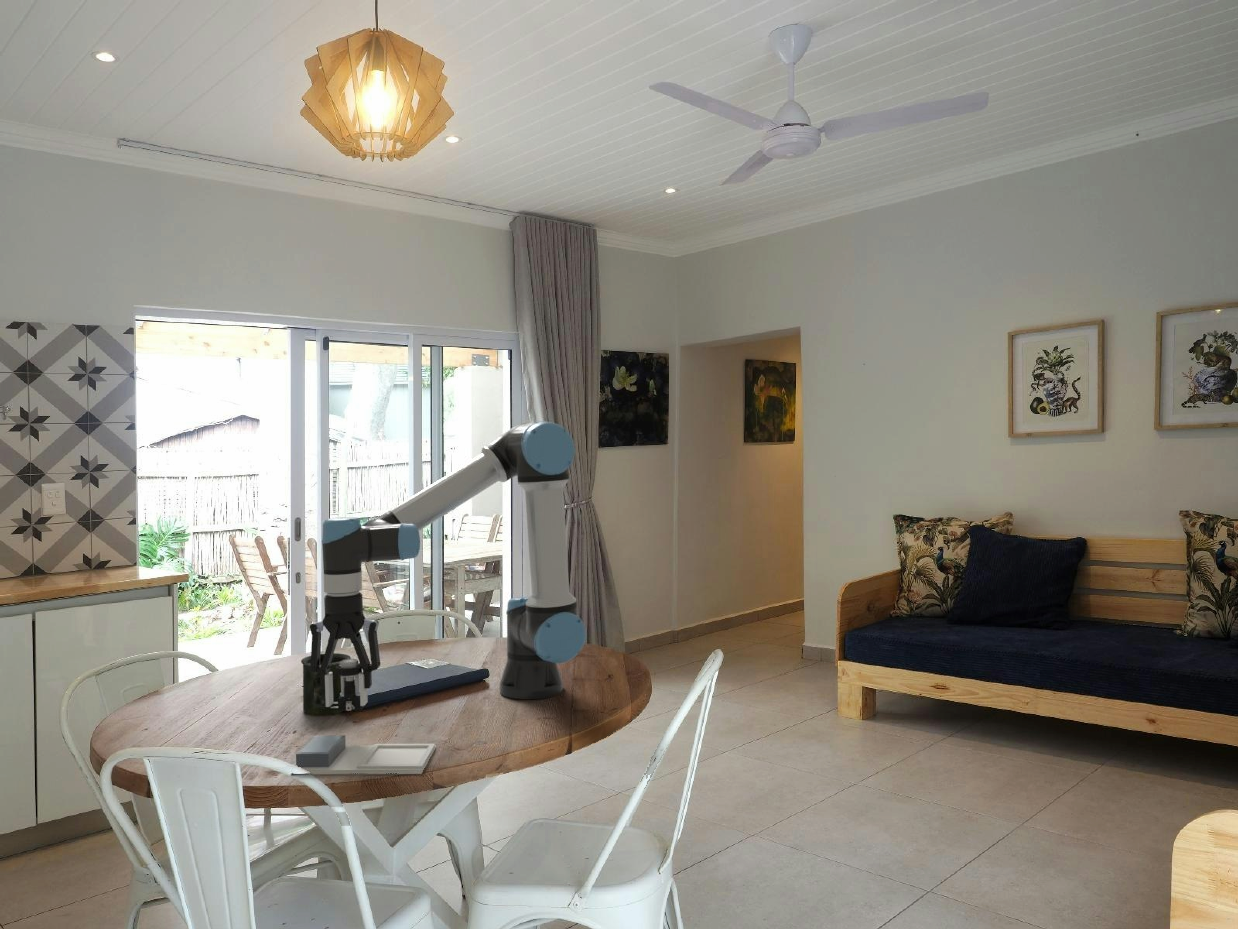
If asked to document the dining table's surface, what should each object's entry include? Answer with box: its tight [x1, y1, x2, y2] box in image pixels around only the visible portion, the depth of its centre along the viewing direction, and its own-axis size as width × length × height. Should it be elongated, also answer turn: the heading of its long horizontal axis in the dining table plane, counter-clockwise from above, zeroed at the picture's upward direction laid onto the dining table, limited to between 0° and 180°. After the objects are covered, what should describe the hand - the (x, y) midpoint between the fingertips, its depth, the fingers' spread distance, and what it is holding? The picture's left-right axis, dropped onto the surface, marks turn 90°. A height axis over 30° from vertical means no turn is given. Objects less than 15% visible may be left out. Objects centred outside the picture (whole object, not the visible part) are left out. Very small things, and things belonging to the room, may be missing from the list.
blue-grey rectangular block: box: [295, 734, 346, 767], centre depth 175 cm, size 6×11×3 cm, turn 1°
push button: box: [331, 658, 364, 712], centre depth 188 cm, size 7×5×10 cm
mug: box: [300, 652, 352, 717], centre depth 208 cm, size 11×15×12 cm
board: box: [301, 743, 437, 775], centre depth 175 cm, size 24×14×1 cm, turn 91°
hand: (346, 704), depth 188 cm, fingers closed on push button, 6 cm apart
